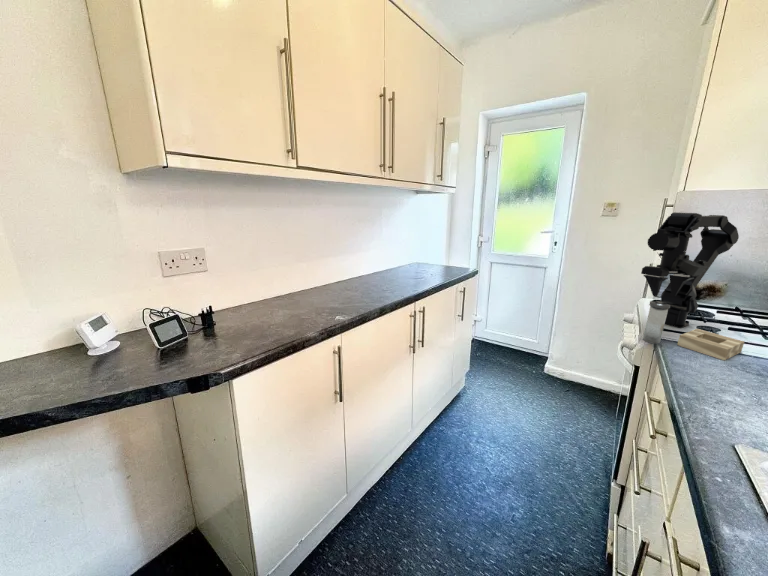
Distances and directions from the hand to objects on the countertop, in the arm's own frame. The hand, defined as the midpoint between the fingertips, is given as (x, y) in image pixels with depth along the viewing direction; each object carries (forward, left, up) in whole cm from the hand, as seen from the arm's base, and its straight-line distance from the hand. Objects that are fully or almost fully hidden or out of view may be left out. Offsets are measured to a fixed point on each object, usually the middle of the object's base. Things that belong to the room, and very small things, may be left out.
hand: (664, 296), depth 108 cm
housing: (+3, +15, -13) cm, 20 cm away
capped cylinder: (+12, +4, -13) cm, 18 cm away
